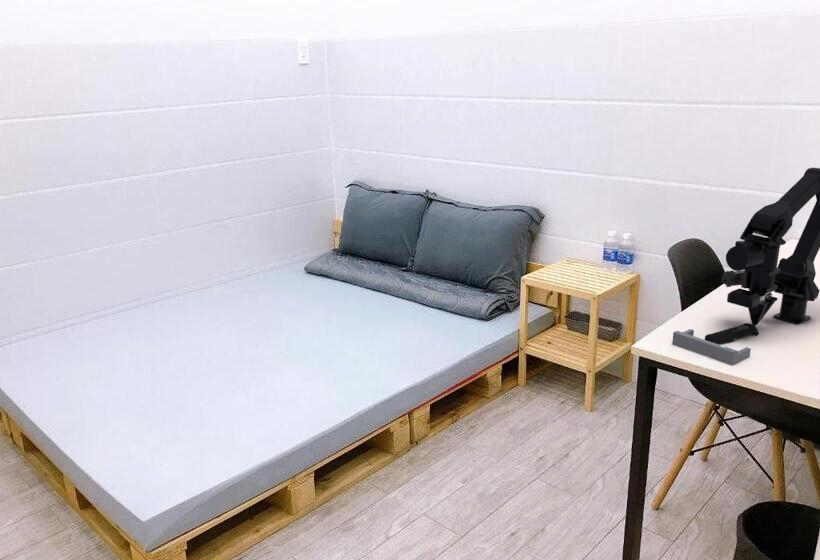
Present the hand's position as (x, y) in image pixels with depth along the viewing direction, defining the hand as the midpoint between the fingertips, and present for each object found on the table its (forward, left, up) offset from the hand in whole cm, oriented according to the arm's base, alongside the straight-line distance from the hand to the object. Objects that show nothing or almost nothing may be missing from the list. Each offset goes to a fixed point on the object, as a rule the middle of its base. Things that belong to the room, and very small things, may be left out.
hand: (754, 324), depth 167 cm
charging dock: (+19, 0, -1) cm, 19 cm away
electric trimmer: (+9, 0, -2) cm, 9 cm away
